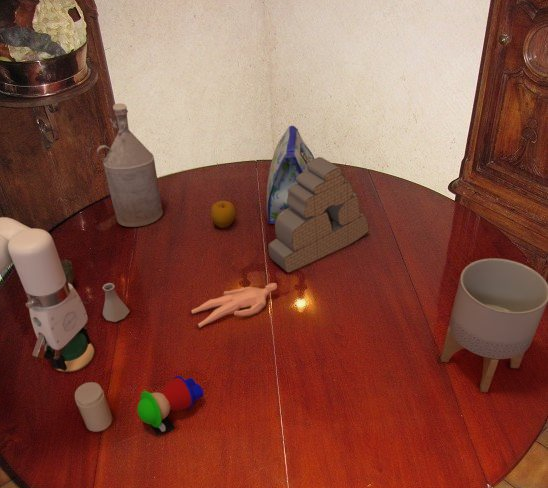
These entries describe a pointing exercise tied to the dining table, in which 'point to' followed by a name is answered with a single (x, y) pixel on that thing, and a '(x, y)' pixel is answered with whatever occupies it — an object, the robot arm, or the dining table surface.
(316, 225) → the ruin
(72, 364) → the coaster
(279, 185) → the lunch bag
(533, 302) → the planter
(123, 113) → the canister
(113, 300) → the flask
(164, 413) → the toy figure
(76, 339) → the jar lid
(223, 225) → the apple
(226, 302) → the male figurine
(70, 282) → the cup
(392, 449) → the dining table surface
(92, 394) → the beige cylinder
